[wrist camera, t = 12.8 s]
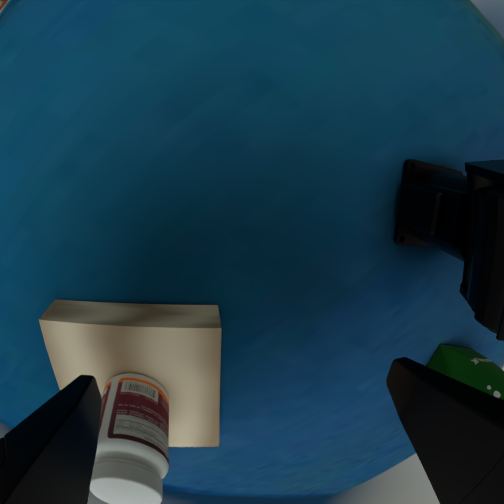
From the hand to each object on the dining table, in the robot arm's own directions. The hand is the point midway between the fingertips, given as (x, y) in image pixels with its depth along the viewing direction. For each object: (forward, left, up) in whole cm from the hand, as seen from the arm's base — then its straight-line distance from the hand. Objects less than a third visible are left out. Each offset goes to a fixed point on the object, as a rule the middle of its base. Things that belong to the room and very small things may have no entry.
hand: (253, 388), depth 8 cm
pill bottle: (+6, +10, -10) cm, 15 cm away
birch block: (+6, +10, -13) cm, 17 cm away
